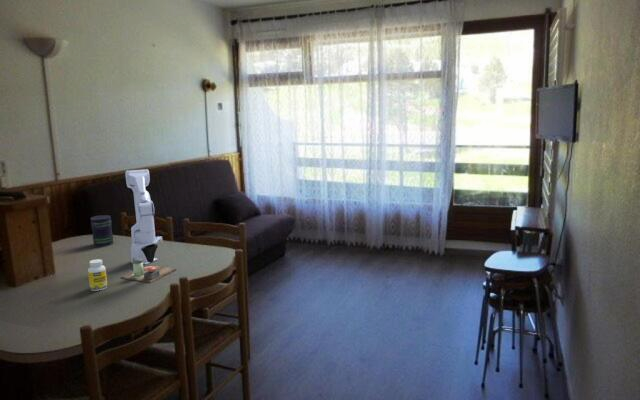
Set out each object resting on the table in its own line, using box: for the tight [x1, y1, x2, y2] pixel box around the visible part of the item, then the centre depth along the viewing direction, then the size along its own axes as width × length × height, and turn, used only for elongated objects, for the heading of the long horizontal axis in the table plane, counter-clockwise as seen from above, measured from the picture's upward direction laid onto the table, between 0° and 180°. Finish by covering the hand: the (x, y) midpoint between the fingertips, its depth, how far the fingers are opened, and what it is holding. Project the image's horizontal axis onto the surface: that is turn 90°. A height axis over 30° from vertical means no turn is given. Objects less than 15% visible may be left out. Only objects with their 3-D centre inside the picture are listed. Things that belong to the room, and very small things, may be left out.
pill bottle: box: [87, 258, 108, 292], centre depth 188 cm, size 6×6×12 cm
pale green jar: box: [131, 258, 144, 277], centre depth 201 cm, size 4×4×7 cm
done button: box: [147, 267, 155, 272], centre depth 198 cm, size 3×3×2 cm
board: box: [120, 264, 177, 283], centre depth 204 cm, size 16×16×3 cm
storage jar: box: [90, 214, 114, 248], centre depth 249 cm, size 10×10×15 cm
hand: (150, 261), depth 198 cm, fingers closed
